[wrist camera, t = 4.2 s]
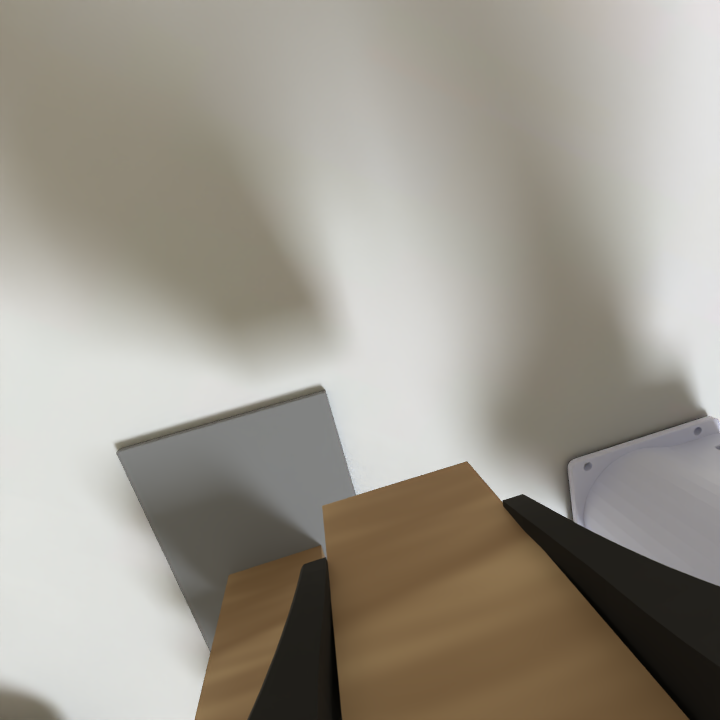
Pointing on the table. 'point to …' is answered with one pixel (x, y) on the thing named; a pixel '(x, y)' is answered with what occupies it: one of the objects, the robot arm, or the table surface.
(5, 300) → the table surface
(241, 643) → the domino
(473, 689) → the domino
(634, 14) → the table surface
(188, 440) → the slate mat
